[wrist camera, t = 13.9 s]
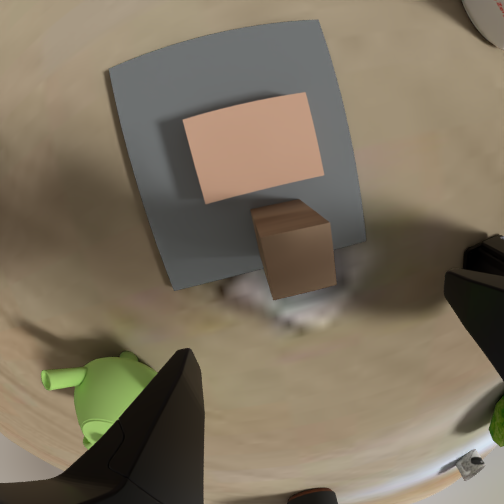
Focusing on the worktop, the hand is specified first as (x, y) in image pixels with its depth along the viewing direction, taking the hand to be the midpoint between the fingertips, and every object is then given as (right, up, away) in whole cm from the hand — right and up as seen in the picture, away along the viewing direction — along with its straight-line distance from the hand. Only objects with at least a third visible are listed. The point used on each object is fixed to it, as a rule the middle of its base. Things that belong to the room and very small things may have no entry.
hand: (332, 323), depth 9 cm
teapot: (-13, -9, +15) cm, 22 cm away
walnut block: (-1, +4, +10) cm, 11 cm away
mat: (-3, +9, +9) cm, 13 cm away
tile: (+1, +9, +7) cm, 12 cm away
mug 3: (+52, -51, +36) cm, 81 cm away
